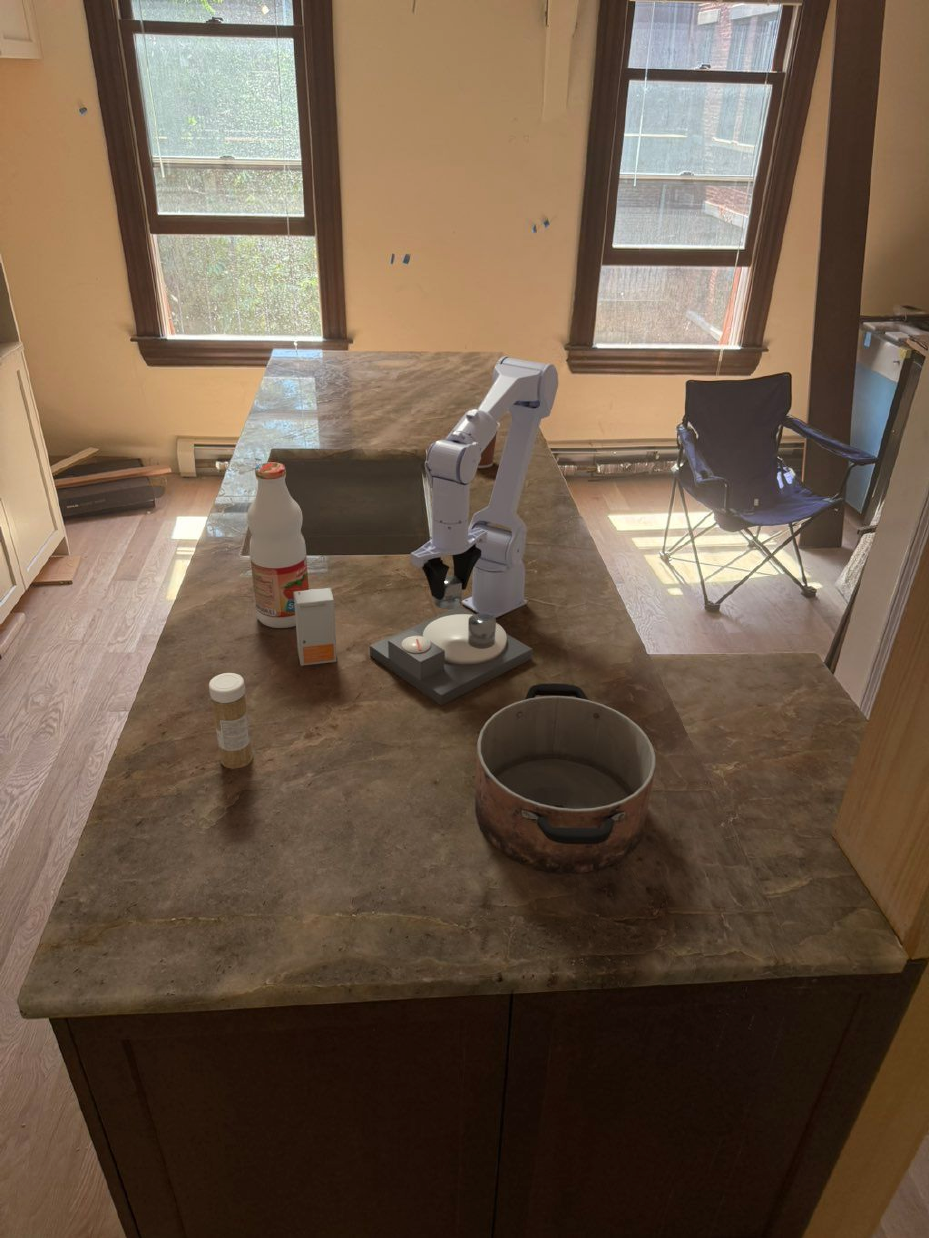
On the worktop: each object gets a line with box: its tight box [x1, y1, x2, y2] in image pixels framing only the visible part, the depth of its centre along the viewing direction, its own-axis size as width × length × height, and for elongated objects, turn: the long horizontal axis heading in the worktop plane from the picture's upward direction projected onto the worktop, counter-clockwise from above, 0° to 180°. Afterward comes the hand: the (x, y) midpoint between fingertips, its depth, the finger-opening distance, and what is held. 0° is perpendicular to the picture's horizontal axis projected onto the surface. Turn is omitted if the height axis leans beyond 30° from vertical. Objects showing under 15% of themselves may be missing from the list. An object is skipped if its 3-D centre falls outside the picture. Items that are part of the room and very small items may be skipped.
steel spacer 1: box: [433, 573, 463, 610], centre depth 144 cm, size 4×4×4 cm
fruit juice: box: [246, 461, 310, 629], centre depth 148 cm, size 9×9×28 cm
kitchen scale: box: [369, 605, 533, 706], centre depth 144 cm, size 20×18×6 cm
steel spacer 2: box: [468, 613, 497, 649], centre depth 144 cm, size 4×4×4 cm
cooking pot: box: [474, 682, 656, 875], centre depth 113 cm, size 30×22×11 cm
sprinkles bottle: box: [208, 672, 254, 769], centre depth 119 cm, size 5×5×13 cm
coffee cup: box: [477, 421, 501, 469], centre depth 218 cm, size 9×9×12 cm
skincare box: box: [293, 587, 337, 667], centre depth 142 cm, size 6×4×12 cm
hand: (448, 592), depth 144 cm, fingers closed on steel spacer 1, 4 cm apart
